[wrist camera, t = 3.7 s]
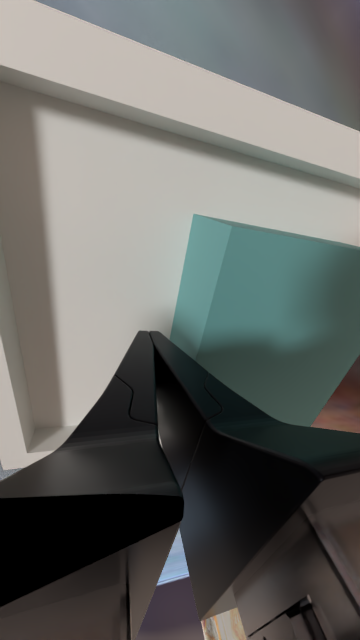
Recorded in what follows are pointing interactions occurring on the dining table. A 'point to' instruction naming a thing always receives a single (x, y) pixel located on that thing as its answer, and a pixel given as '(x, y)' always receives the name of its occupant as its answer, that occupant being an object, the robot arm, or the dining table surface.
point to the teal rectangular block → (270, 314)
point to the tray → (128, 202)
